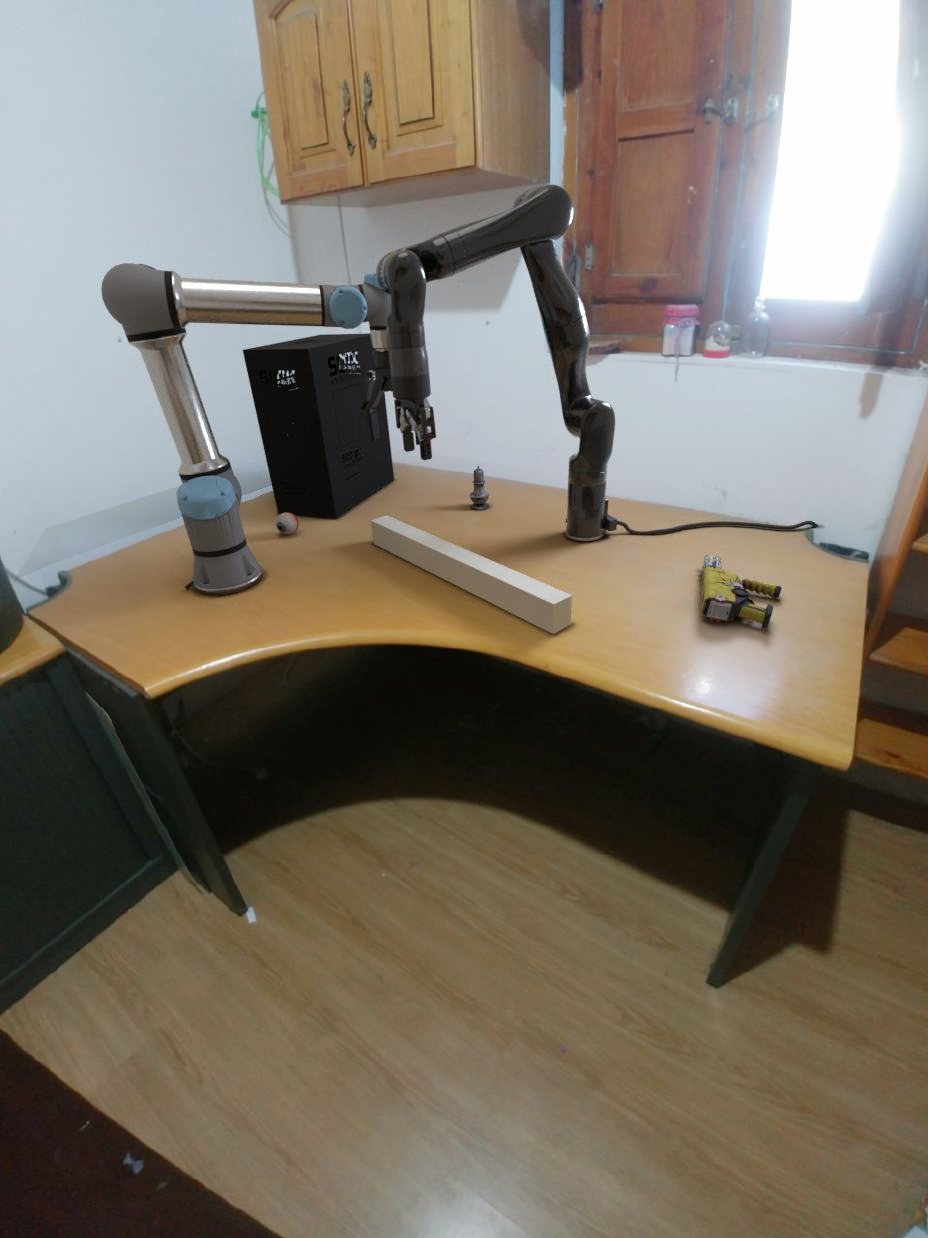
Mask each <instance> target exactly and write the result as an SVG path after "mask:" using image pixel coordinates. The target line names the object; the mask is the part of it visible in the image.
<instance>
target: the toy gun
mask: <svg viewBox="0 0 928 1238" xmlns="http://www.w3.org/2000/svg"><path fill="white" fill-rule="evenodd" d="M701 568H702V571H701V572H702V575H701V579H700V580H701V581H700V582H701V585H700V586H701V591H700V593H701V601H700V602H701V606H700V607H701V609H700V610H701V614H702V616H703V617H705V618H709V620H710V621H712V622H714V621H715V622H717V623H718V622H720V621H725V622H730V621H734V620H735V619H737V618H742V619H746V620H748V621H753V622H756V623H758V624H761V625H762V628H763V629H766V630H767V629H768V627H769V624H770V622H771V618H772V615H773V611H774V607H775V606H774V605H772V604H770V603H768V604H767V605H766V608H765V607H762V606H760V605H757V604H755V601H754V600H753V599H751V598H750V592H755V593H756V594H762V595H764V596H767V595H768V596H769V597H771V598H773V599H779V598H780V595H781V591H782V589H783V588H782V586H781V585H776V584H771V583H767V582H766V583H764V582H763V581H757V580H755V579H753V580H752V579H750V578H747V577H745V578H743V579H740V577H739V576H738V574H736V573H731V572H728V571H724V569H723V568H722V557H721V556H719V555H715V556H714V557H713V554H710V553H709V554H708V553H707V554H706V555H705V556H704V559H703V563H702V566H701ZM749 591H750V592H749Z"/></svg>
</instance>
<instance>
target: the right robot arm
mask: <svg viewBox="0 0 928 1238" xmlns="http://www.w3.org/2000/svg"><path fill="white" fill-rule="evenodd" d="M574 208H575V207H574V203H573V199H572V197H571V195H570V193H569V192H568V191H567V190H566V189H565V188H564V187H562V186H561V185H557V184H550V183H549V184H544V185H540V186H536V187H532V188H529V189H527V190H524V191H522V192H521V193H519V194H518V196H517V197H516V198H515V200H514V202H513V205H512V208H510V209H507V210H505V211H502V212H499V213H497V214H493V215H491V216H487V217H485V218H481V219H477V220H474V221H470V222H467V223H463V224H461V225H458V226H455V227H453V228H451V229H448V230H445V231H442V232H440V233H437V234H435V235H434V236H431V237H430V238H427V239H426V240H424V241H421V242H418V243H415V244H411V245H408V246H404V247H401V248H398V249H395V250H392V251H389V252H388V253H386V254H384V255H383V256H382V257H381V258H380V259H379V260H378V263H377V264H376V268H375V273H376V279H377V282H378V284H379V286H380V288H381V289H382V290H383V291H384V292H386V293H388V294H390V295H391V313H390V314H389V315H388V317H387V334H388V343H389V364H390V374H391V383H392V391H391V393H392V397H393V398H394V401H393V402H394V413H395V424H396V425H395V426H396V428H397V430H399V431H400V433H401V435H402V443H403V444H402V445H403V451H404V452H405V453H409V452H413V451H415V449H416V447H415V437H414V436H415V435H414V433H415V432H416V433H417V435H418V438H419V444H420V445H419V454H420V459H421V460H422V461H429V460H432V458H433V451H432V440H434V439H436V438H437V431H436V422H435V421H436V420H435V412H434V407H433V406H432V405H430V406H431V407H426V406H425V402H424V399H425V398H429V397H430V396H431V394H432V391H431V389H432V387H431V378H430V377H431V376H430V366H429V356H428V351H427V345H426V343H427V342H426V332H425V331H426V330H425V324H424V316H425V308H426V297H427V284H428V283H430V282H434V281H440V280H441V281H442V280H445V279H449V278H451V277H453V276H456V275H457V274H460V273H463V272H465V271H467V270H469V269H472V268H474V267H476V266H478V265H480V264H483V263H485V262H487V261H489V260H491V259H494V258H496V257H498V256H500V255H502V254H506V253H508V252H510V251H513V250H515V249H519V251H520V253H521V256H522V259H523V261H524V264H525V266H526V270H527V272H528V275H529V279H530V282H531V286H532V289H533V293H534V298H535V301H536V306H537V308H538V312H539V317H540V321H541V325H542V330H543V334H544V338H545V342H546V344H547V348H548V351H549V356H550V359H551V362H552V363H551V364H552V368H553V371H554V374H555V378H556V382H557V386H558V392H559V399H560V405H561V412H562V419H563V423H564V427H565V429H566V430H567V432H568V433H569V434H570V435H571V436H573V437H575V438H578V439H579V445H578V451H577V453H574V454H572V455H570V456H569V459H568V468H567V469H568V473H567V501H566V502H567V503H566V518H565V523H566V527H565V536H566V537H567V538H568V539H570V540H572V541H576V542H583V543H584V542H586V543H587V542H594V541H599V540H600V539H602V538H604V536H607V531H608V532H613V531H617V530H618V529H617V528H618V526H621V527H623V528H624V529H625V530H626V532H628V533H630V534H632V535H637V536H648V535H649V536H651V535H657V534H665V533H672V532H677V531H680V530H685V529H690V528H697V527H707V526H738V527H739V526H740V527H753V528H761V529H762V528H763V529H770V530H783V531H785V530H787V531H788V530H789V531H791V530H795V529H798V528H802V527H804V526H807V525H810V526H812V527H813V528H819V525H818V524H817V523H816V522H815V521H813V520H804V521H801V522H799V523H796V524H793V525H777V524H776V525H775V524H768V523H759V522H749V521H748V522H747V521H729V520H728V521H727V520H720V521H702V522H701V521H700V522H693V523H686V524H681V525H677V526H672V527H669V528H661V529H652V530H646V531H645V530H644V531H641V530H636V529H635V530H634V529H631V528H630V526H629V525H628V524H627V523H625V522H624V521H622V520H618V519H617V518H616V517H614V516H612V515H610V514H609V498H607V497H606V493H607V477H608V465H609V461H610V459H611V457H612V454H613V448H614V439H615V430H616V414H615V410H614V408H613V406H612V405H611V404H610V403H609V402H607V401H604V400H601V399H597V398H594V397H593V395H592V392H591V389H590V386H589V381H588V378H587V377H588V376H587V360H588V356H589V352H590V347H591V332H590V326H589V323H588V322H589V321H588V318H587V317H588V316H587V313H586V309H585V305H584V302H583V300H582V298H581V296H580V294H579V292H578V291H577V289H576V288H575V285H574V283H572V281H571V279H570V278H569V276H568V275H567V273H566V272H565V270H564V268H563V266H562V263H561V260H560V258H559V254H558V250H557V246H556V242H555V241H558V240H559V239H561V238H562V237H563V236H564V235H565V234H566V233H567V232H568V230H569V229H570V227H571V225H572V222H573V219H574V211H575V209H574ZM421 431H422V433H421Z"/></svg>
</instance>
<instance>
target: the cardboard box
mask: <svg viewBox="0 0 928 1238" xmlns="http://www.w3.org/2000/svg"><path fill="white" fill-rule="evenodd" d="M373 351H375V349H373V348H372V346H371V336H370V332H369V333H368V332H367V333H340V334H339V333H333V334H331V333H329V334H327V333H325V334H316V335H311V336H306V337H300V338H297V339H291V340H285V341H281V342H276V343H270V344H266V345H259V346H255V347H251V348H250V347H249V348H245V349H242V353H243V358H244V362H245V368H246V372H247V376H248V381H249V386H250V391H251V395H252V400H253V404H254V409H255V410H254V411H255V414H256V418H257V423H258V428H259V432H260V437H261V441H262V447H263V451H264V456H265V461H266V465H267V470H268V474H269V478H270V483H271V489H272V492H273V498H274V502H275V506H276V511H277V514H279V515H280V514H282V513H285V512H288V513H292V514H294V515H295V516H301V517H302V516H304V517H314V518H323V519H335V520H336V519H339V518H340V517H342V516H343V515H344V514H346V513H347V512H349V511H350V510H352V509H353V508H355V507H357V506H358V505H359V504H360V503H362V502H364V501H365V500H367V499H368V498H370V497H371V496H372V495H374V494H375V493H377V492H378V491H380V490H381V489H383V488H384V487H386V486H387V485H389V484H391V483H392V482H393V481H394V480H395V473H394V463H393V455H392V447H391V437H390V429H389V418H388V411H387V401H386V392H384V394H383V395H382V397H381V399H380V401H379V403H378V404H377V406H376V408H375V411H373V412H377V415H378V424H379V432H380V438H379V439H377V440H374V441H372V440H371V432H370V426H368V424H367V417H366V413H365V411H363V410H359V408H358V407H359V403H360V399H361V395H362V391H363V387H364V383H365V372H366V371H370V370H374V371H375V372H376V368H375V367H374V362H373ZM348 353H349V354H348ZM341 356H342V357H341ZM343 357H344V358H343ZM354 359H355V361H354ZM356 362H357V363H356ZM283 372H284V373H283ZM287 373H288V374H287ZM377 384H378V381H377V379H375V383H374V387H373V391H372V394H371V397H372V395H373V393H374V391H375V388H376V386H377ZM370 399H371V398H370Z"/></svg>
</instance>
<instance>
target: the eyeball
mask: <svg viewBox="0 0 928 1238" xmlns="http://www.w3.org/2000/svg"><path fill="white" fill-rule="evenodd" d="M299 525H300V522H299V519H298V517H297V515H294V514H292V513H288V512H285V513H282V514H280V513H279V515H278V516H277V517H276V520H275V527H276V529H277V530H278V531H279V532H280V533H281V534H282V535H285V536H286V535H287V536H289V535H293V534H295V533H296V532H297V531H298V529H299Z"/></svg>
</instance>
